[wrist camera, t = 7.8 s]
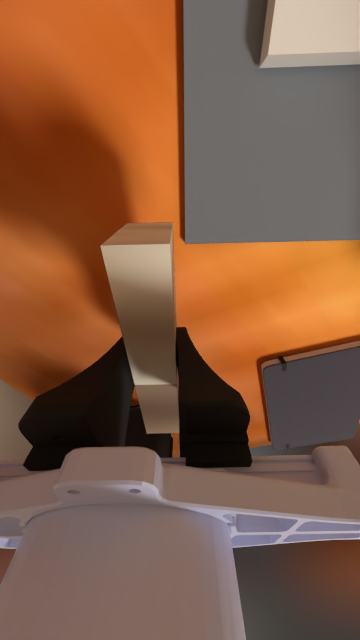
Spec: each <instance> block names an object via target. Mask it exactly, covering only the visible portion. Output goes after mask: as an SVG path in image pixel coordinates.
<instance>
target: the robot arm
mask: <svg viewBox="0 0 360 640" xmlns="http://www.w3.org/2000/svg"><path fill="white" fill-rule="evenodd" d="M176 351H177V369H178V379H179V390H178V406H179V438H180V458H160V457H159V456H158V455H157V453H156V452H155V451H153V450H151V449H148V448H145V447H124V446H125V438H126V431H127V424H128V417H129V410H130V404H131V398H132V394H133V390H134V386H135V384H134V380H133V376H132V372H131V368H130V364H129V360H128V356H127V352H126V348H125V344H124V340H123V336H122V337H121V338H120V339H119V340H118V342H117V343H116V344H115V345H114V346H113V347H112V348H111V349H110V350H109V351H108V352H107V353H105V354H104V355H103V356H102V357H101V358H100V359H99V360H98V361H96V362H95V363H94V364H92V365H91V366H90V367H88V368H87V369H85V370H84V371H83V372H81V373H80V374H78V375H77V376H75V377H73V378H72V379H70V380H68V381H67V382H65V383H63V384H61V385H60V386H58V387H56V388H54V389H52V390H50V391H48V392H46V393H44V394H42V395H39V396H37V397H36V398H35V400H34V401H33V403H32V404H31V406H30V407H29V409H28V410H27V411H26V413H25V414H24V416H23V417H22V419H21V420H20V422H19V429H20V431H21V433H22V434H23V435H24V437H25V438H26V439H27V440H28V441H29V442H30V443H31V444H32V446H33V448H32V449H31V451H30V453H29V455H28V456H27V458H26V460H15V461H0V548H10V549H11V548H12V549H17V550H16V552H15V554H14V557H13V559H12V561H11V563H10V565H9V568H8V570H7V572H6V574H5V577H4V579H3V581H2V583H1V585H0V640H246V636H245V629H244V623H243V617H242V610H241V603H240V598H239V590H238V583H237V577H236V570H235V563H234V557H233V551H232V548H235V547H247V546H258V545H270V544H281V543H293V542H305V541H320V540H339V539H340V540H341V539H360V465H359V464H358V463H357V461H356V460H355V458H354V457H353V455H352V453H351V452H350V450H349V449H348V447H346V446H321V447H318V448H316V449H314V451H313V452H312V455H296V456H295V455H293V456H251V453H250V450H249V446H248V441H249V440H248V436H247V432H246V431H247V428H248V425H249V422H250V415H249V411H248V409H247V406H246V404H245V402H244V400H243V398H242V396H241V395H240V393H239V392H237V391H236V390H235V389H233V388H232V387H231V386H229V385H228V384H227V383H226V382H224V381H223V380H222V379H221V378H220V377H219V376H218V375H217V374H216V373H215V372H214V371H213V370H212V369H211V368H210V367H209V366H208V365H207V364H206V362H205V361H204V360H203V359H202V357H201V356H200V354H199V353H198V351H197V350H196V348H195V347H194V345H193V343H192V341H191V339H190V337H189V335H188V332H187V329H186V328H185V327H176Z"/></svg>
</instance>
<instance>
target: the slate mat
mask: <svg viewBox="0 0 360 640" xmlns="http://www.w3.org/2000/svg"><path fill="white" fill-rule="evenodd" d="M267 4H268V0H183V46H184V181H185V244H204V243H245V242H287V241H329V240H360V64H354V65H328V66H302V67H275V68H259V67H260V59H261V51H262V43H263V35H264V27H265V19H266V11H267Z"/></svg>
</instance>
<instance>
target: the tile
mask: <svg viewBox="0 0 360 640" xmlns="http://www.w3.org/2000/svg"><path fill="white" fill-rule="evenodd" d="M354 64H360V0H268V4H267V11H266V19H265V27H264V35H263V43H262V51H261V59H260V67H259V68H275V67H302V66H328V65H354Z"/></svg>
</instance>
